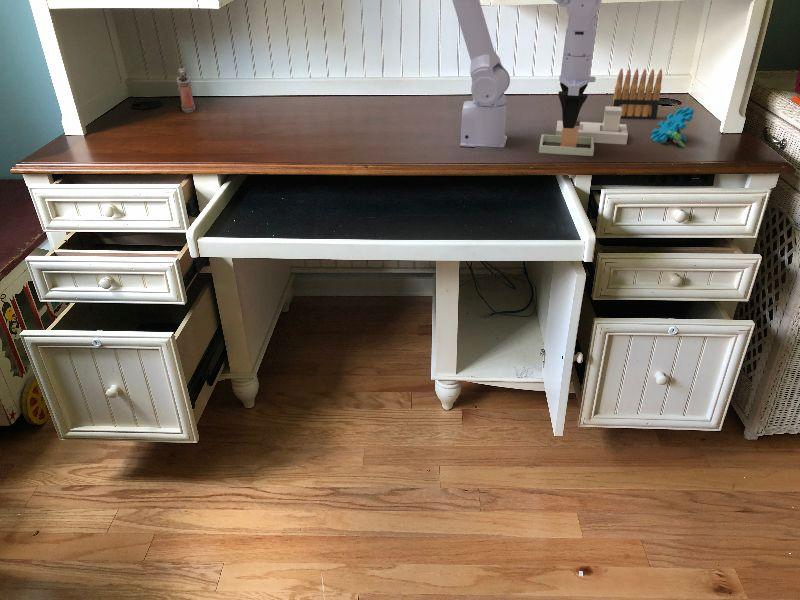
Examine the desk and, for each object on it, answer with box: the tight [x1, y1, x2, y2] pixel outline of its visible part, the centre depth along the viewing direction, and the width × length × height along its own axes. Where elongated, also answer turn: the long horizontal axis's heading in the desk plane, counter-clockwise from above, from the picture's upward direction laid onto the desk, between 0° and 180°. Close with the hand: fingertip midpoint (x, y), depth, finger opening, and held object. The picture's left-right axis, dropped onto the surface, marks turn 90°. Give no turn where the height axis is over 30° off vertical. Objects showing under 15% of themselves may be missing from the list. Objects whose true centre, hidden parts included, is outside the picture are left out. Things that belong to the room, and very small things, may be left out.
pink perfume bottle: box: [176, 68, 196, 113], centre depth 167 cm, size 8×3×10 cm, turn 17°
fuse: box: [602, 105, 622, 132], centre depth 140 cm, size 3×3×6 cm
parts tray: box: [538, 133, 595, 157], centre depth 136 cm, size 11×8×2 cm
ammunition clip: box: [611, 68, 663, 120], centre depth 152 cm, size 11×2×12 cm, turn 82°
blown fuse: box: [560, 116, 581, 147], centre depth 135 cm, size 3×3×6 cm
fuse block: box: [555, 120, 629, 146], centre depth 142 cm, size 15×8×3 cm, turn 76°
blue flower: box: [649, 106, 695, 147], centre depth 139 cm, size 11×6×10 cm
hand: (568, 122), depth 133 cm, fingers open, 7 cm apart
